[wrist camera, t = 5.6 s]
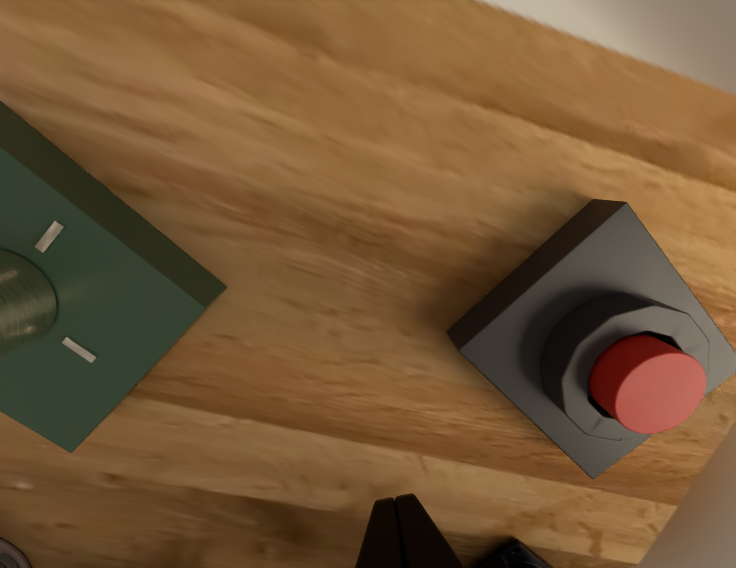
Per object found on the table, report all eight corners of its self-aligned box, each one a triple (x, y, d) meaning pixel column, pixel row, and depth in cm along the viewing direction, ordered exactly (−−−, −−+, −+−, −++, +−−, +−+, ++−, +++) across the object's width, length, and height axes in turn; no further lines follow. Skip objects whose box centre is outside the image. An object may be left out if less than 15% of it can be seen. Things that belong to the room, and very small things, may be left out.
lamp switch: (705, 346, 21) (787, 384, 17) (569, 451, 22) (616, 508, 18) (593, 198, 18) (661, 204, 14) (445, 331, 19) (470, 370, 15)
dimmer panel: (227, 287, 18) (204, 309, 15) (111, 412, 19) (68, 456, 16) (-4, 97, 15) (-93, 77, 12) (-119, 265, 16) (-223, 285, 13)
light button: (685, 370, 17) (723, 392, 15) (616, 424, 17) (645, 450, 16) (642, 317, 16) (678, 333, 14) (570, 375, 16) (596, 398, 15)
